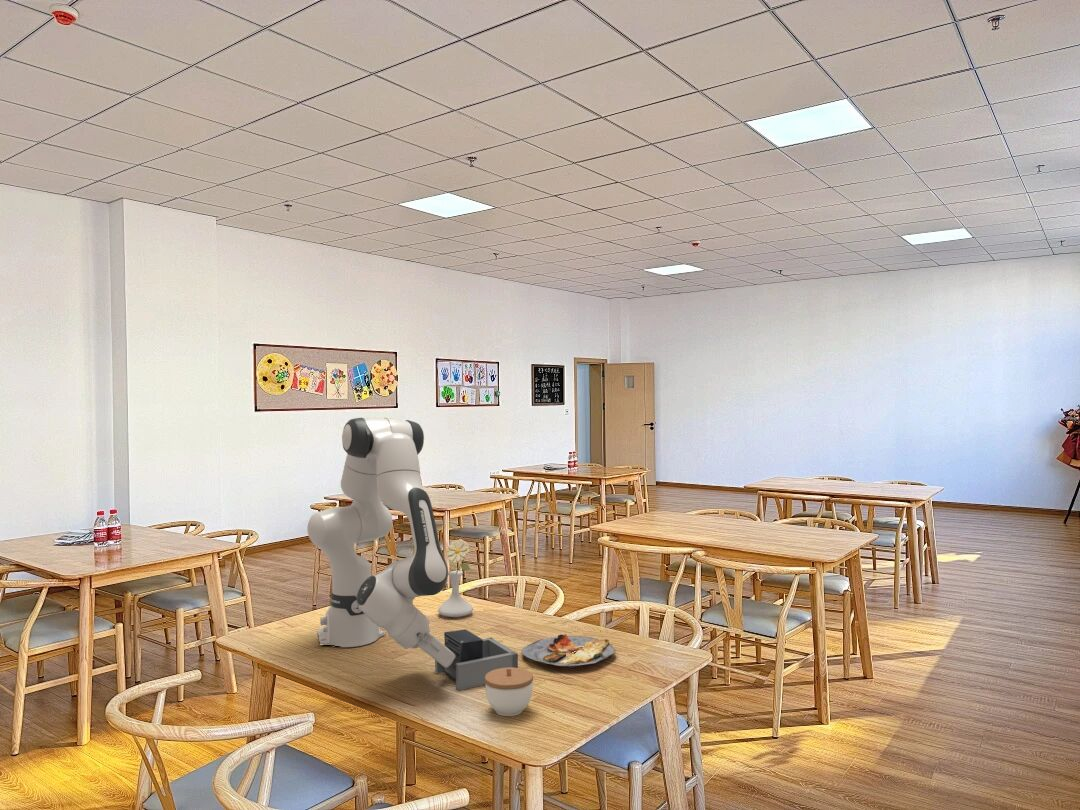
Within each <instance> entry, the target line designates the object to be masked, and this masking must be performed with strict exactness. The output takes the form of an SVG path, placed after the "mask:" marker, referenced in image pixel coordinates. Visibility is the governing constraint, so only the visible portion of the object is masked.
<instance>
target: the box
mask: <svg viewBox="0 0 1080 810" xmlns="http://www.w3.org/2000/svg"><path fill="white" fill-rule="evenodd" d="M482 639H483V658H481V659H476V660H471V661H466V662H461V663H456V682H455V689H456V690H457V691H463V690H467V689H473V688H476V687H481V686H485V675H486V674H487V673H488V672H490V671H492V670H495V669H500V668H511V667H512V668H519V654H518V652H516V651H514V650H513V649H511V648H510V647H508V646H506V645H504V644H503V643H502V642H500V641H499V640H496V639H494V638H493V637H486V638H482ZM434 672H435V673H436V674H439V673H444V666H442V665H441V664H440V663H438V662H437V661H436V660H435V659H434Z"/></svg>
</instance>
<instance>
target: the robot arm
mask: <svg viewBox="0 0 1080 810" xmlns="http://www.w3.org/2000/svg"><path fill="white" fill-rule="evenodd" d="M424 440H425V435H424V430H423V428H422V425H420V423H418V422H415V421H413V420H409V419H406V420H402V419H398V418H389V417H384V418H383V417H381V418H380V417H378V418H377V417H373V418H372V417H371V418H370V417H369V418H363V417H355V418H351V419H349V420H348V421H347V422H346V423H345V425H344V427H343V430H342V434H341V442H342V444H341V445H342V448H343V450H344V451H345V453H346V459H345V462H344V466H343V471H342V475H341V480H340V488H341V491H342V493H343V494H344V495H345V497H346V496H347V497H348V498H349V499H351V500H352V502H351V504H350V505H346V506H340V507H331V508H326V509H323V510H320V511H317V512H315V513H313V514H312V515H311V517H310V518H309V520H308V521H307V522H308V523H307V527H306V528H307V529H306V530H307V535H308V538H309V541H311V543H312V544H313V545H314V546H316V547H318V548H319V549H320V550H321V551H322V552H323V553H324V554H325V556H326V558H327V561H328V562H329V566H330V570H331V583H332V584H331V585H332V586H331V588H332V591H331V592H330V597H329V598H330V601H329V602H330V603H329V605H330V606H329V608H328V609H327V611H326V612H325V616H321V617H320V621H319V622H320V623H319V624H320V626H321V627H319V628H317V636H318V635H319V637H318V643H319V642H320V644H323V645H335V646H342V647H341V648H353V647H355V648H356V647H361V646H365V645H370V644H372V643H374V642H376V641H377V640H378V639H379V638H381V637H383V636H385V631H386V633H387V634H388V636H389V637H390V638H391V639H393V640H394V642H396V643H397V644H398V645H400V646H401V647H402V648H403V649H411V648H412V649H416V648H420V649H421V651H423V652H424V653H426V654H427V655H428V656H430V657H431V658H432V659H433V660H434V661H435V660H436V661H437V662H438V663H440V664H441V665H442V666H444V667H445V668H447V667H448V666H451V664H452V663H453V660H454V659H455V654H454V653H453V652H452V651H450V650H449V649H448V648H447V647H446V646H445V643H443V642H441V641H440V639H438V638H437V637H435V636H434V635H433V634H431V627H430V619H429V618H428V617H427V616H426V615H425V614H424V613H423V612H422V611H421V610H419V609H418V608H417V607H416V606H415V605H414V600H415V598H418V597H424V596H425V597H426V596H436V595H437V594H439V593H441V592H442V590H444V588H445V586H446V584H447V583H448V578H449V575H448V572H449V569H448V565H447V561H446V559H445V557H444V554H443V551H442V548H441V544H440V539H439V534H438V530H437V526H436V520H435V515H434V510H433V505H432V502H431V499H430V497H429V494H428V493H427V492H426V490H424V489H425V488H423V484H422V477H421V468H420V462H419V456H418V455H419V454H420V453H421V452H422V450H423V447H424V442H425V441H424ZM390 509H391V510H394V511H397V512H399V513H400V512H401V513H403V514H404V516H406V518H407V519H408V521H409V525H410V526H409V527H410V530H411V531H410V532H411V537H412V542H413V547H414V548H413V549H414V550H413V551H414V552H413V555H412V556H410V557H406V558H405V557H404V558H402V559H398V560H395V561H392V562H390V564H388V565H387V566H386V567H385V569H383V570H382V571H381V572H379V573H377V574H374V575H372V566H371V563H370V561H368V559H366V558H365V557H363V556H361V555H359V554H357V553H356V549H355V544H360V543H365V542H366V543H367V542H371V541H373V542H374V541H376V540H378V539H381V538H383V537H385V536H388V534H390V532H391V531H392V527H393V515H392V512H391V511H390ZM380 628H382V629H383V630H382V629H380ZM335 646H334V647H335Z"/></svg>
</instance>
